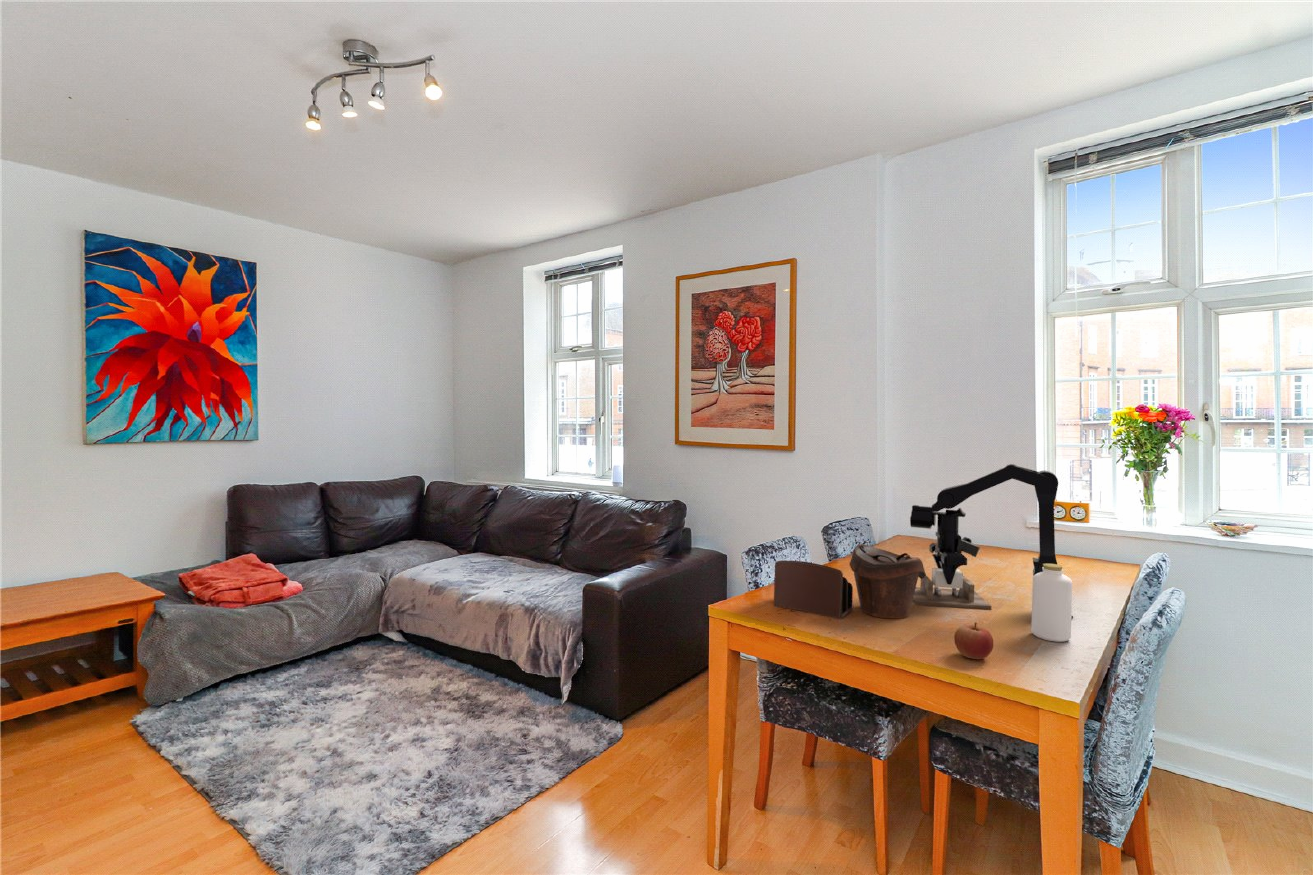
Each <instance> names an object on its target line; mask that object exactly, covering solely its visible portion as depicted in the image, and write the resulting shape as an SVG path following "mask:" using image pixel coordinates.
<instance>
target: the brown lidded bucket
mask: <svg viewBox="0 0 1313 875" xmlns="http://www.w3.org/2000/svg"><path fill="white" fill-rule="evenodd" d="M849 567H850V569H851V571H852V572H853V575H854V581H855V586H856V590H857V592H856V593H857V597H858V602H859V606H860V610H861V611H862V612H863V613H864V614H867V615H869V616H872V617H874V618H879V619H880V618H881V619H889V620H890V619H893V620H894V619H895V620H897V619H898V620H899V619H904V618H907V617H909V616H910V613H911V608H912V602H913V601H914V600H913V596H914V592H915V588H916V587H917V584H918V581H919V580H918V579H920V580H921V579H923V578H924V577H925V576H927V573H926V570H925V568H924V564H923V561H922V559H920V558H919V557H911V555H910V554H908V553H907V552H904V553H901V554H897V553H894V552H891V551H887V550H885V549H882V548H878V547H875V546H872V545H868V544H864V543H863V544H861V543H859V544H857V545H856V546H855V547H854V548H853V550H852V554H851V558H850V560H849Z"/></svg>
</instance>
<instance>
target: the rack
mask: <svg viewBox="0 0 1313 875" xmlns="http://www.w3.org/2000/svg"><path fill="white" fill-rule="evenodd" d="M912 601H913V602H914V604H916V606H917V605H918V606H928V607H929V606H931V607H948V608H964V609H979V610H992V605H991V604H990V603H989V602H988V601H986V600H985V599H984V598H983V597H982V596H981V595H980V594H979V593H978V592H976V591H975V584H974V583H973V582H972V581H970V580H969V579H968V578H967V577H966V576H964V575H963V588H958V589H957V588H940V587H935V586H934V585H933V582H932V579H930V578H929V577H928V575H926V576H925V577H924V578H923V579H920V587H919V586H918V587H917V586H916V588H915V592H914V596H913V600H912Z"/></svg>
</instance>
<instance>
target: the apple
mask: <svg viewBox="0 0 1313 875" xmlns="http://www.w3.org/2000/svg"><path fill="white" fill-rule="evenodd" d="M977 624H978V623H977V622H974V624H970V623H969V624H968V623H967V624H963V625H961V626H959V627H958V628H957V629H956V630H955V633H954V636H953V639H954V640H953V641H954V646H955V648H956V649H957V650H958V652H959V653H960V655H962V656H964V657H965V658H968V659H973V660H983V659H986V658H987V657H988V656H989V655H991V653H992V651H993V649H994V638H993V635H992V634H991V633H990V631H989V630H988V629H987V628H984V627H981V626H979V625H977Z"/></svg>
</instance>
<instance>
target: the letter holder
mask: <svg viewBox="0 0 1313 875" xmlns="http://www.w3.org/2000/svg"><path fill="white" fill-rule="evenodd" d="M773 584H774V587H773V589H774V591H773V606H774V607H776V608H777V607H778V608H783V609H788V610H793V611H796V612H798V611H799V612H804V613H809V614H813V615H818V616H824V617H828V618H834V619H838V620H842V619H843V618H844V617H845V616H847V615H848V614H849V613H851V612H852V611H853V605H854V604H853V602H854V600H853V598H854V597H853V595H854V594H853V592H854V591H853V590H854V589H853V588H854V587H853V585H852V583H851V582H849V581H848V579H847V578H846V577H845V576H844V573H843V571H842V570H840V569H838V568H834V567H831V566H828V565H823V564H819V563H813V562H811V561H810V562H808V561H801V560H778V561H777V560H776V561H775V563H774V583H773Z"/></svg>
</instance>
